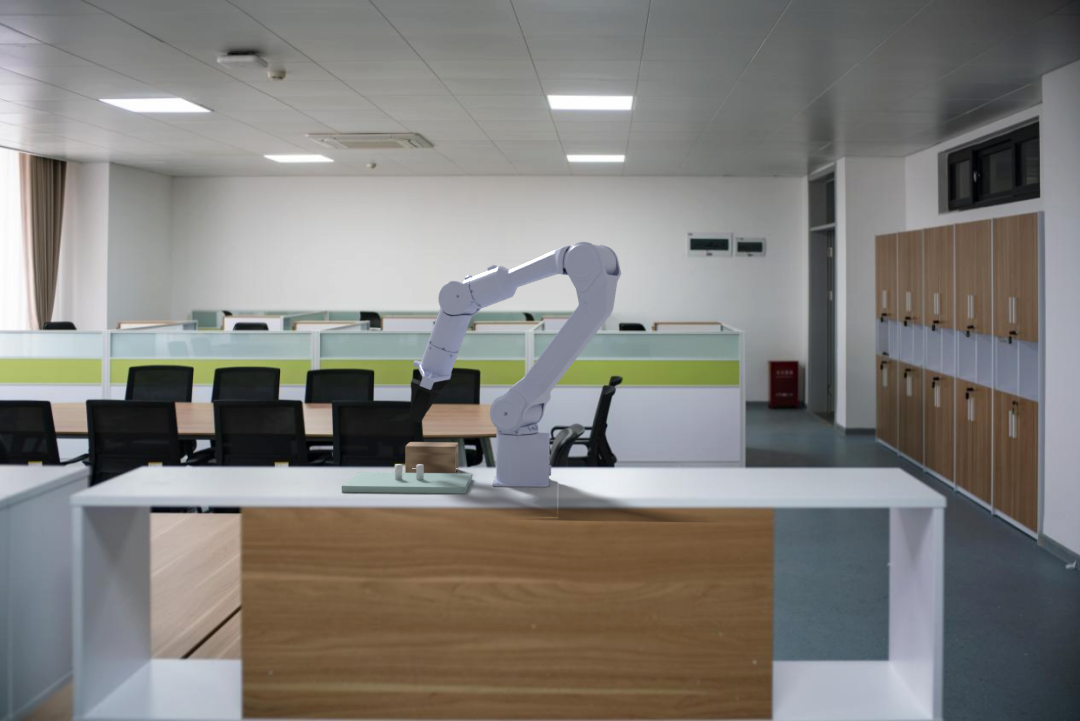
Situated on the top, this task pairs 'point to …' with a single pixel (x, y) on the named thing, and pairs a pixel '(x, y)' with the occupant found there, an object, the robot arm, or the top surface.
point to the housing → (432, 457)
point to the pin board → (408, 482)
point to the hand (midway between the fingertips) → (418, 415)
